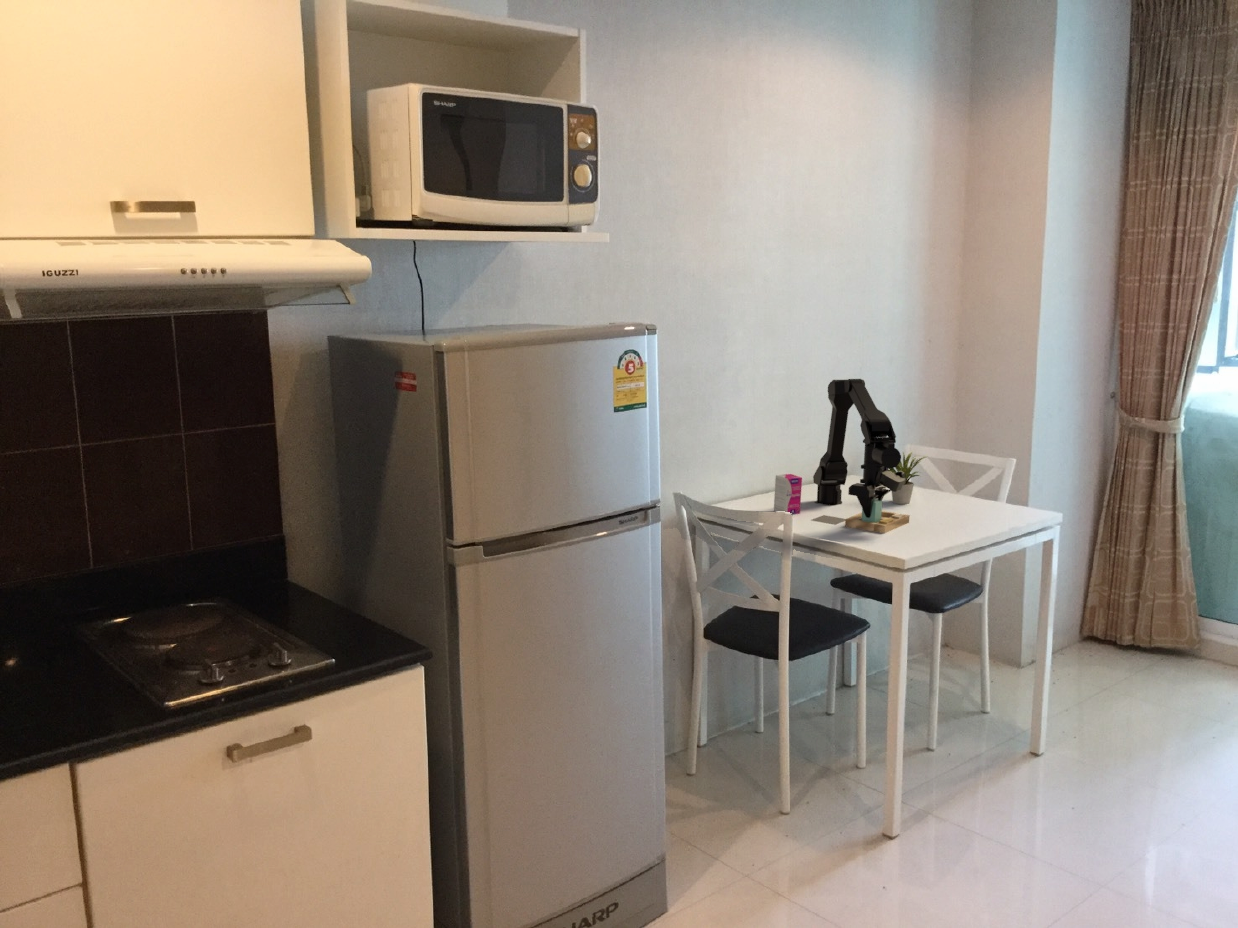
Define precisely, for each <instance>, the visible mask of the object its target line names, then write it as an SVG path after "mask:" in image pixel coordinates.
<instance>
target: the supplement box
mask: <svg viewBox="0 0 1238 928" xmlns="http://www.w3.org/2000/svg"><path fill="white" fill-rule="evenodd" d="M774 480H775V481H774V482H775V483H774V499H773V512H774V511H785V512H790V513H792V515H798V514H799V515H800V514H801V500H802V486H803V485H802V483H803V478H802V477H801V476H798V475H795V474H792V473H788V474H787V473H786V474H775V479H774Z"/></svg>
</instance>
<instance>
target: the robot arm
mask: <svg viewBox="0 0 1238 928" xmlns="http://www.w3.org/2000/svg"><path fill="white" fill-rule="evenodd" d="M827 393H828V394H827V395H828V396H827V398H828V400H829V402H830V405H831V407H832V408H831V415H830V416H831V417H830V423H829V429H828V431H829V432H828V439H827V447H826V448H827V449H826V452H825V453H824V455H822V457H821V458H820V460H819V464H818V467H817V469H816V470H815V471H814V474H813V476H812V477H813V479H812V481H813V484H814V485H817V494H816V501H814V502H813V503H815V504H817V505H818V504H819V505H820V504H821V505H825V506H831V507H833V506H836V505H841V504H842V503H843V501H842V489H841V486H845V484H846V481H847V476H848V464H849V463H848V461H846V459H845V457H844V455H843V453H844V448H845V447H844V446H845V439H846V432H847V425H848V418H849V417H848V416H849V410H850V409H851V407H853V405H854V406H855V408H856V411H857V412H858V414H859V416H860V419H861V421H860V425H859V426H860V430H861V433H862V436H863V440H862V443H864V453H863V454H864V456H863V464H860V469H861V470H863V474H862V478H861V479H859V482H856V483H853V484H851V485H850V486H849V487H848V496H855V497H856V498H857V500H858V502H859V504H860V505H861V510H862V509H863V511H864V513H865V516H866V517H867V518H870V516H871V511H872V505H873V500H874V499H875V498H878V500H882V501H883V499H884V498H885V495H887V494H888V493H890V492H892V491H893V492H897V491H898V490H901V488H902V486H903V484H905V483H906V481H905V480H906V479H905V473H904V472H902V471H899V472H898V471H896V472H897V473H896V474H894V472H893V473H892V472H889V471H888V470H889V469H888V468H894V469H895V467H896V466H897V465H898V464H899V463H900V461H901V460H902V454H901V453H900V450H899V449H897V448H896V447H895V446H896V442H897V440H896V438H897V436H896V433H895V430H894V428H893V424H892V422H891V420H890V418H889V417H888V416H887V414H886V413H885V412H884V411H881V410H880V409H878V408H877V406H876V404H875V402H874V401H873V399H872V397H871V395H870V393H869V391H868V389H867V386H866V382H865V380H864V379H862V378H848V379H832V380H831V381H830V382H829V383H828V385H827ZM901 462H902V461H901Z"/></svg>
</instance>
